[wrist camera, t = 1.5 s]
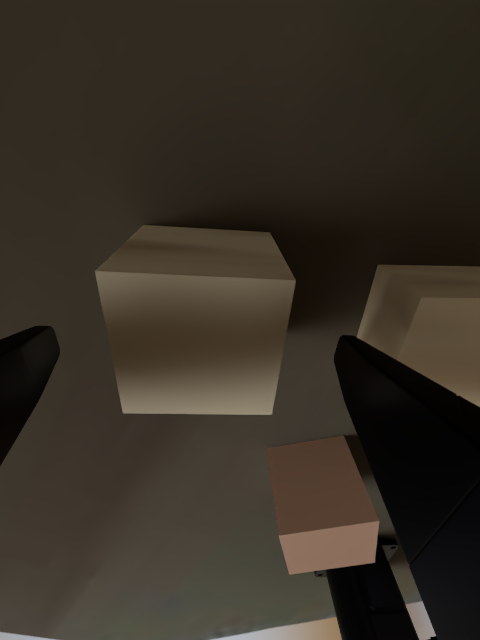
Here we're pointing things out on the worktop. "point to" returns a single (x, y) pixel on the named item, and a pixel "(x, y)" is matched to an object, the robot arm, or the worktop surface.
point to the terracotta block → (321, 506)
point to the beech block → (196, 320)
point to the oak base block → (428, 322)
